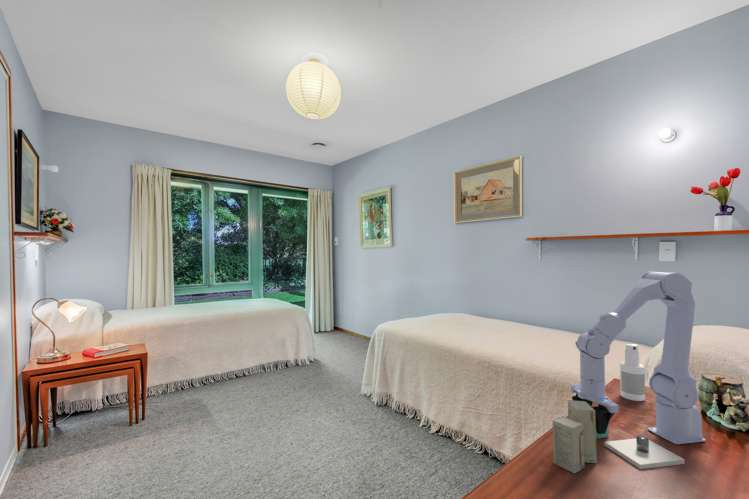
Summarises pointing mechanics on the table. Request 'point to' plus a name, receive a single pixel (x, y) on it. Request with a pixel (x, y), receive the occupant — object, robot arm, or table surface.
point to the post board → (644, 453)
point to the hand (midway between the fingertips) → (593, 428)
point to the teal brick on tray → (603, 434)
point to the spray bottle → (632, 375)
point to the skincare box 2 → (585, 427)
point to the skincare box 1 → (568, 444)
